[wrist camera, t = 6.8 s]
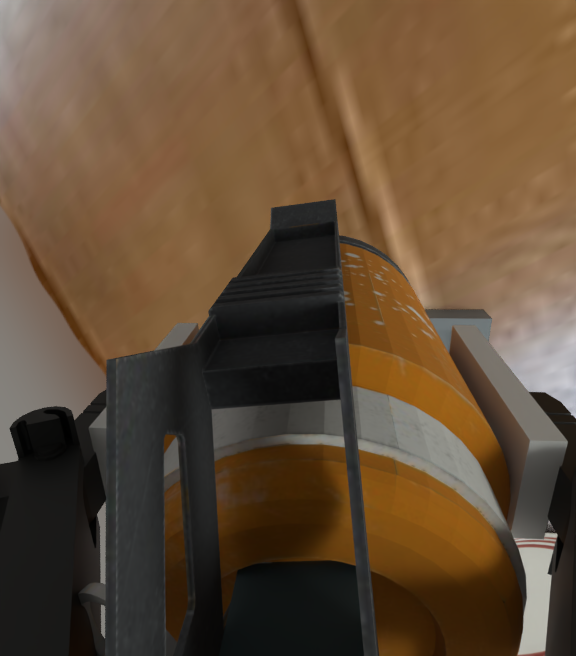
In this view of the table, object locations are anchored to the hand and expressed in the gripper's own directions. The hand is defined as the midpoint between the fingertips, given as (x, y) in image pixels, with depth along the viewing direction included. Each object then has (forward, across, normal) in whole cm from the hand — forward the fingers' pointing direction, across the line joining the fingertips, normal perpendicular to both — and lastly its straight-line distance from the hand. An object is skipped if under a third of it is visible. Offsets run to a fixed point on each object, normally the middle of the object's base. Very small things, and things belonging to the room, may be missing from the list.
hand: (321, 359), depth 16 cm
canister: (+7, 0, 0) cm, 7 cm away
